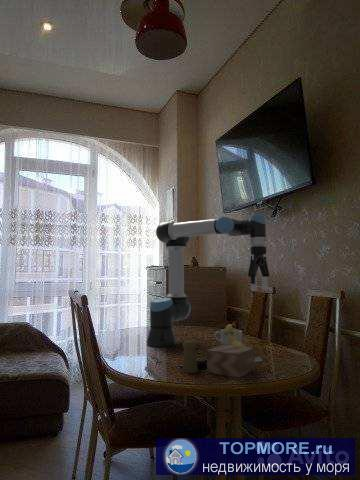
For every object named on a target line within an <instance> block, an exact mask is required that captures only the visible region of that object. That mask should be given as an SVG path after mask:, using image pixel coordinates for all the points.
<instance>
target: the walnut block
mask: <svg viewBox="0 0 360 480" xmlns="http://www.w3.org/2000/svg"><path fill="white" fill-rule="evenodd" d="M254 358H255V349H254V347H249V346H246V347H242V346H233V345H224V344H221V345H217V346H214V347H212V348H208V349H206V372H207V373H209V374H215V375H222V376H225V377H234V378H241V377H244V376H245V375H247V374H249V373H251V372H253V371H254V370H255V361H254V360H255V359H254Z"/></svg>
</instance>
